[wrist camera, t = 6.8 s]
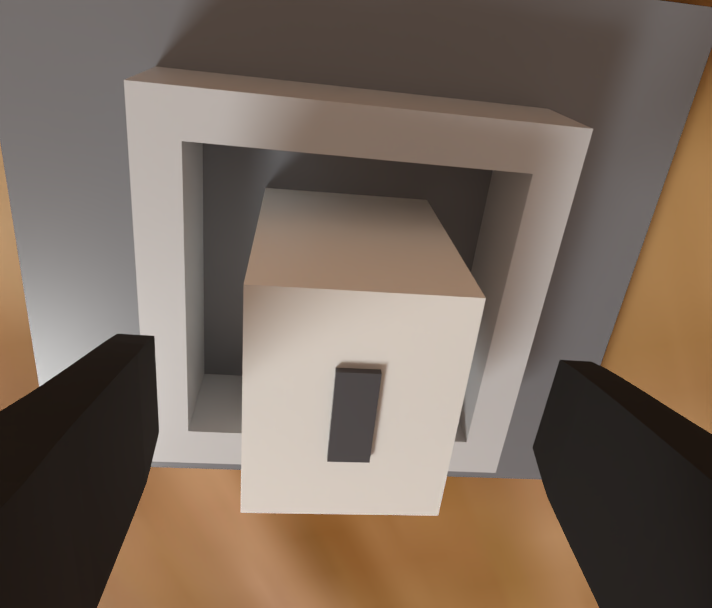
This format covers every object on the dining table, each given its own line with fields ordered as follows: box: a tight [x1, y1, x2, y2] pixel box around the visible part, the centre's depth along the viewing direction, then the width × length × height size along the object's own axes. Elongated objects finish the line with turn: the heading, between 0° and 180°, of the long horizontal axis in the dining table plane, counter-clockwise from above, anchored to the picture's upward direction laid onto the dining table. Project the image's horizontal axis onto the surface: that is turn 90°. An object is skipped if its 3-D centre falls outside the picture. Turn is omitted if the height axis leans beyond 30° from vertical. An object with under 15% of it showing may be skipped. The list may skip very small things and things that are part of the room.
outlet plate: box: [0, 0, 712, 479], centre depth 15 cm, size 16×14×4 cm
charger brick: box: [241, 188, 486, 516], centre depth 13 cm, size 4×5×6 cm
